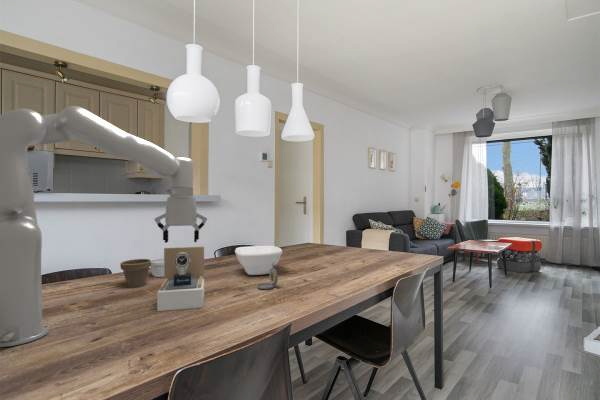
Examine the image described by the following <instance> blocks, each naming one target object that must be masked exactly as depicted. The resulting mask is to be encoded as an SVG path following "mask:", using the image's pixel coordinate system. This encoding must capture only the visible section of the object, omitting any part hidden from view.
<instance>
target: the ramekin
mask: <svg viewBox="0 0 600 400" xmlns="http://www.w3.org/2000/svg"><path fill="white" fill-rule="evenodd" d="M150 260H151V266H150V272H151V275H152V276H153V277H156V278H164V257H160V258H154V259H150Z"/></svg>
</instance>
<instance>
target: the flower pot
mask: <svg viewBox="0 0 600 400" xmlns="http://www.w3.org/2000/svg"><path fill="white" fill-rule="evenodd" d="M151 260H152V259H148V258H137V259H136V258H135V259H130V260H125V261H121V262H120V265H119V266H120V270H122V272H123V274H124V278H125V281H126V284H127V287H129V288H139V287H143V286H144V285H146V283H147V278H148V274H149V269H150V268H151Z"/></svg>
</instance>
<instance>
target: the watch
mask: <svg viewBox="0 0 600 400" xmlns="http://www.w3.org/2000/svg"><path fill="white" fill-rule="evenodd" d="M189 262H191V259H189V256H188V254H187V253H186V252H179V254H177V256H176V258H175V265H176V267H177V270H178V271H179V274H174V286H180V285H191V273H186V269H187V268H188V265H189Z"/></svg>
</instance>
